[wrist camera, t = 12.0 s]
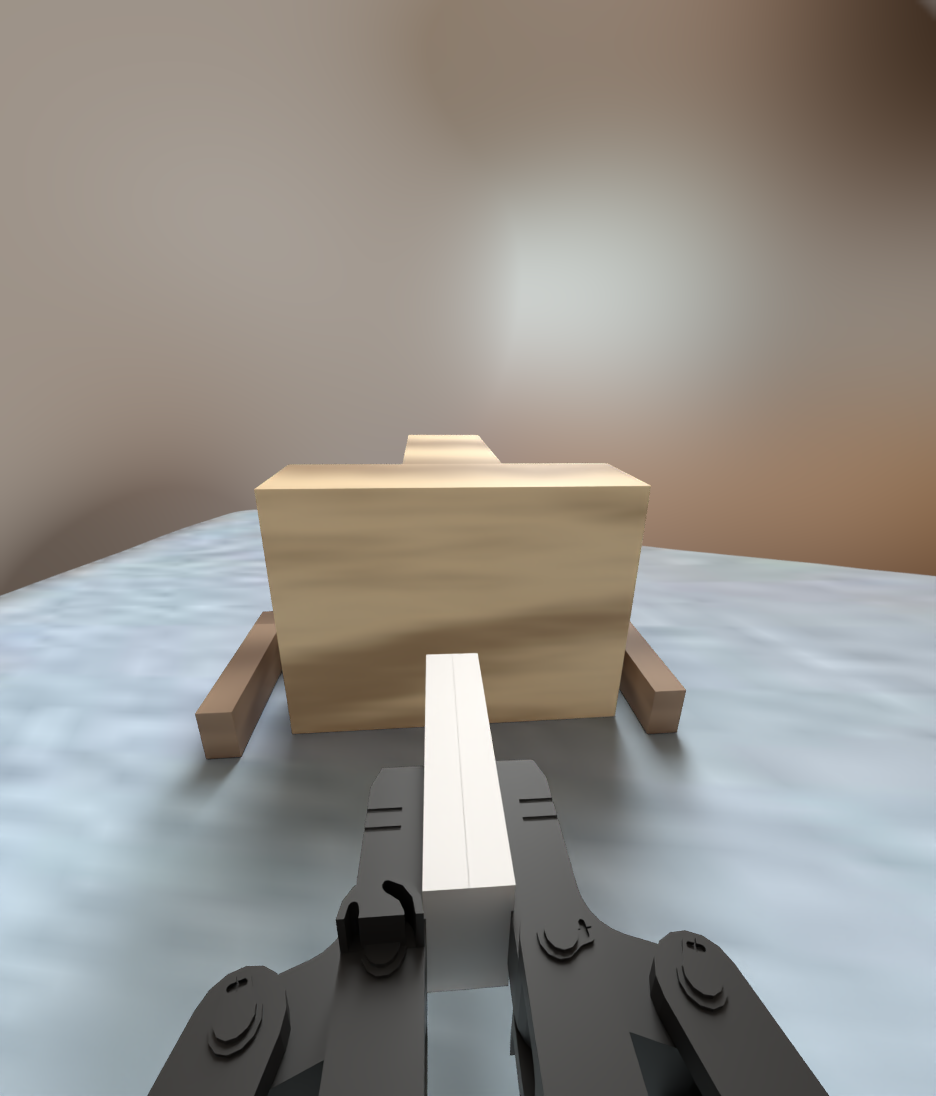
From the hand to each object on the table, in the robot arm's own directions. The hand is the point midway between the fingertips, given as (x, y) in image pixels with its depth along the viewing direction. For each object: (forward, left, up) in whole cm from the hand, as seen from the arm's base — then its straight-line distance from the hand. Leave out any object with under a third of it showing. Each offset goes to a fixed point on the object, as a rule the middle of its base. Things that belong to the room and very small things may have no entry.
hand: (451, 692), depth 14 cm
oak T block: (+13, -8, -7) cm, 17 cm away
